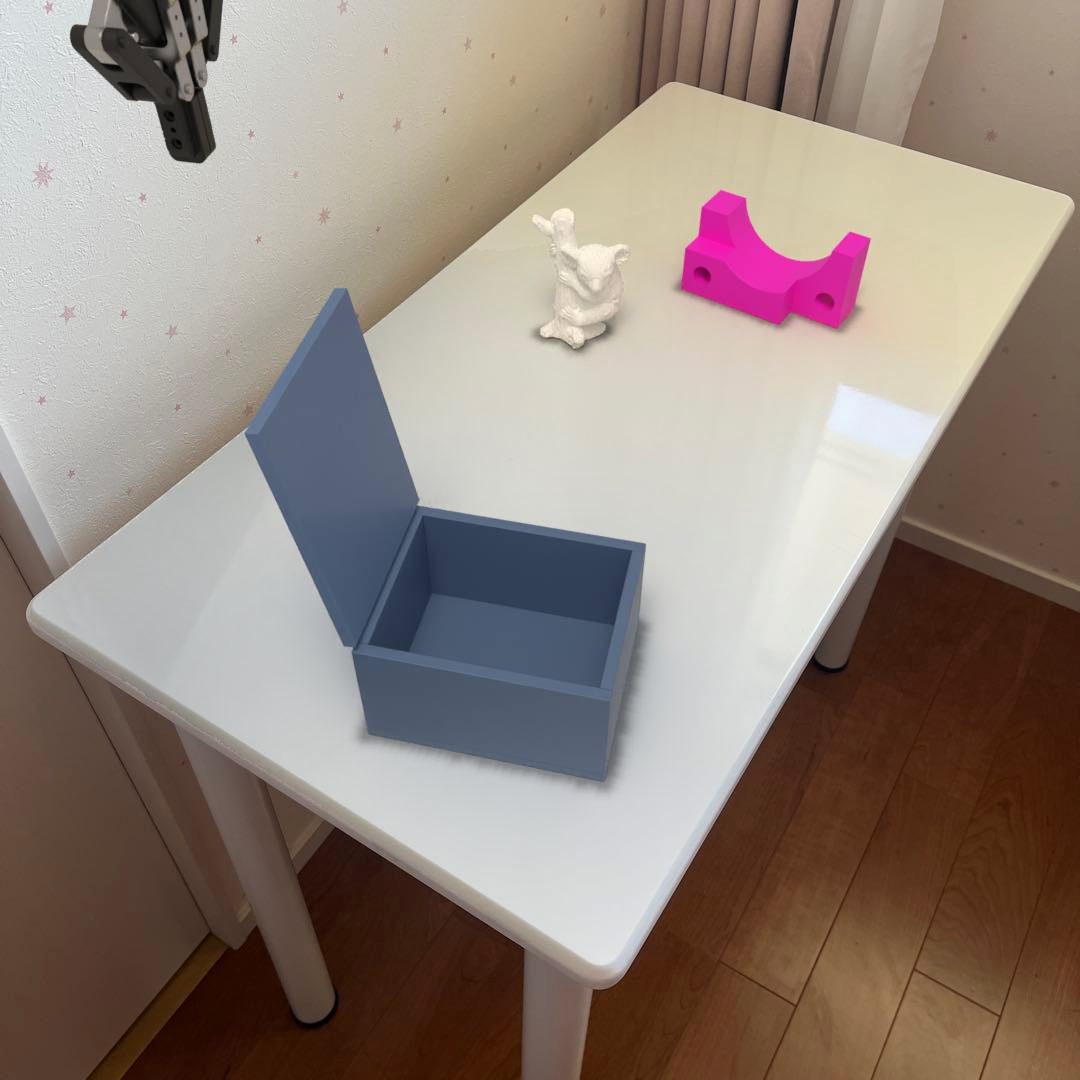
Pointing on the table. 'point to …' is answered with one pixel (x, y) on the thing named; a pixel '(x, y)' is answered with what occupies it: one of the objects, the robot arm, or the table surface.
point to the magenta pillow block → (768, 269)
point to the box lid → (336, 465)
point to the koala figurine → (581, 281)
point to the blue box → (502, 641)
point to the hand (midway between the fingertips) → (194, 156)
